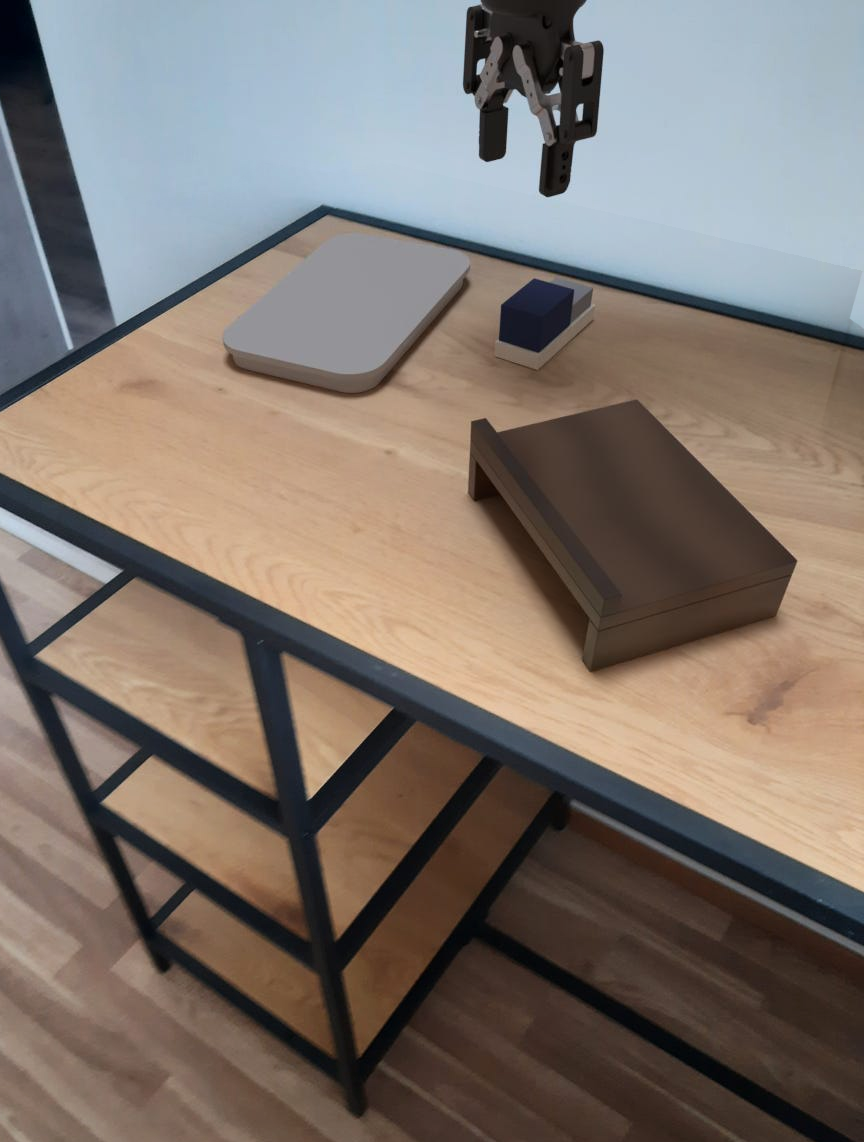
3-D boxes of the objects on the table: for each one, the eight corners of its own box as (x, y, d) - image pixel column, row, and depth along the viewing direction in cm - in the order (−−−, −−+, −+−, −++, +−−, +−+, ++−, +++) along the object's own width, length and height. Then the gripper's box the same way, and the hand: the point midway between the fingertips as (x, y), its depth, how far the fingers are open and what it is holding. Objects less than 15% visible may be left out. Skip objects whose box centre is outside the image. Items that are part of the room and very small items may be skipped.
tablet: (478, 275, 98) (479, 254, 96) (369, 403, 82) (368, 380, 80) (340, 250, 103) (339, 229, 101) (212, 365, 87) (208, 343, 85)
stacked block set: (551, 307, 93) (556, 257, 89) (593, 319, 91) (600, 269, 87) (493, 356, 87) (496, 305, 83) (537, 370, 85) (542, 319, 81)
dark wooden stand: (626, 452, 76) (640, 381, 71) (776, 615, 63) (805, 542, 58) (467, 492, 73) (470, 420, 68) (590, 672, 60) (604, 599, 55)
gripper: (653, -69, 59) (615, 196, 71) (525, -102, 68) (511, 139, 80) (554, -52, 57) (533, 219, 69) (435, -88, 66) (434, 157, 77)
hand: (521, 175), depth 74 cm, fingers open, 8 cm apart
